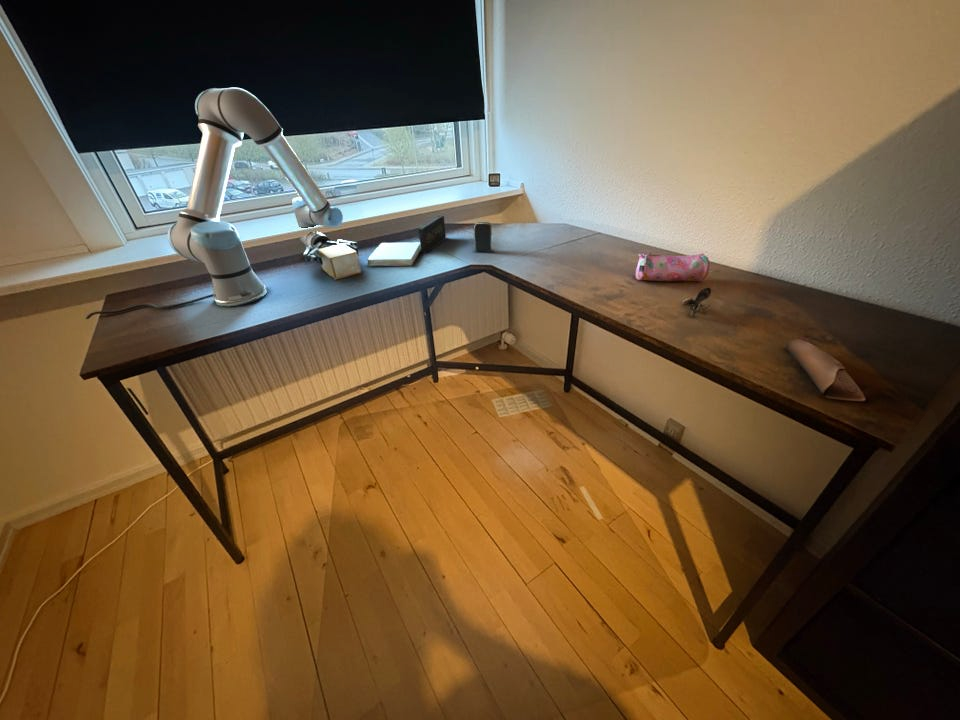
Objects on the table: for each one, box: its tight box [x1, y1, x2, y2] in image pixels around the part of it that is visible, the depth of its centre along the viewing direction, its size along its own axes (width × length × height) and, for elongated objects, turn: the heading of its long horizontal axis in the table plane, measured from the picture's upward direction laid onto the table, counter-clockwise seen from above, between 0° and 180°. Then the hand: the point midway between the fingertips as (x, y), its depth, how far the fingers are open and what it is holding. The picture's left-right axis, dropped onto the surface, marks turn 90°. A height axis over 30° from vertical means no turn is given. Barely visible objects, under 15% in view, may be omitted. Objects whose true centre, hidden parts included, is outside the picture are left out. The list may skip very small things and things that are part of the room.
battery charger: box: [473, 221, 493, 253], centre depth 153 cm, size 7×4×11 cm, turn 82°
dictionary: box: [317, 244, 362, 281], centre depth 140 cm, size 13×10×8 cm
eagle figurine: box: [682, 287, 712, 317], centre depth 106 cm, size 8×7×9 cm
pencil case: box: [635, 252, 710, 283], centre depth 123 cm, size 21×9×9 cm, turn 81°
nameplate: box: [418, 215, 447, 254], centre depth 161 cm, size 21×2×10 cm, turn 161°
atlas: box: [366, 241, 421, 267], centre depth 153 cm, size 17×20×3 cm
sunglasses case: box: [785, 338, 867, 402], centre depth 82 cm, size 18×7×7 cm, turn 167°
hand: (339, 256), depth 137 cm, fingers open, 13 cm apart
